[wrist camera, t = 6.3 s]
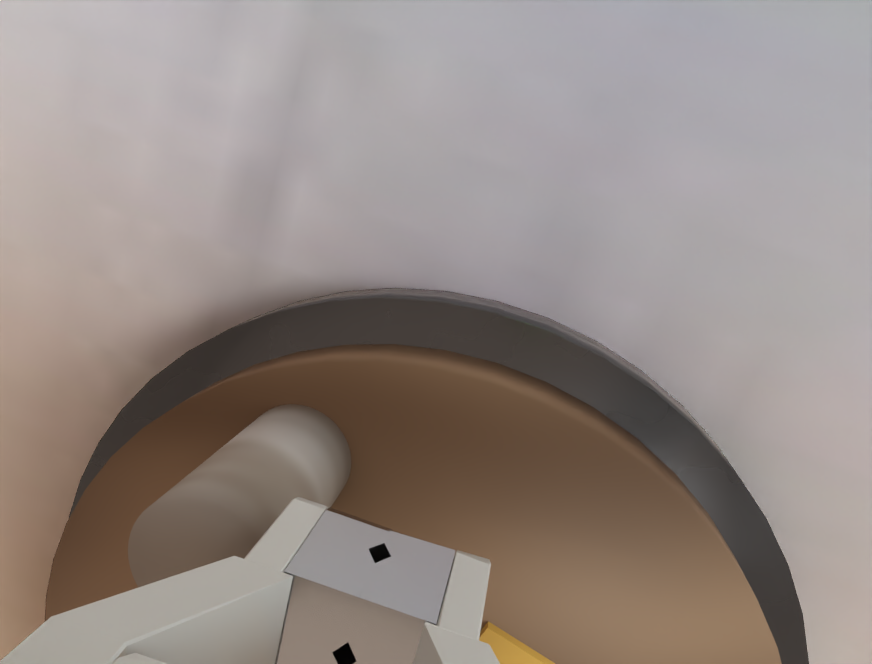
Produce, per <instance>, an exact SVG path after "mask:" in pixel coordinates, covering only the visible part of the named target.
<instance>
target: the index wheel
mask: <svg viewBox="0 0 872 664" xmlns="http://www.w3.org/2000/svg"><path fill="white" fill-rule="evenodd" d="M297 497H301V498H304V499H307V500H310V501H313V502H316V503H319V504H322V505H325V506H327V507H328V508H330V507H331V508H333V509H336V510H339V511H342V512H345V513H347V514H350V515H353V516H356V517H359V518H361V519H364V520H367V521H370V522H373V523H376V524H378V525H381V526H384V527H387V528H390V529H392V530H393V531H396V532H399V533H402V534H405V535H409V536H412V537H415V538H418V539H421V540H425V541H428V542H431V543H434V544H437V545H440V546H444V547H447V548H450V549H453V550H456V551H457V550H459V551H462V552H466V553H469V554H473V555H476V556H479V557H483V558H486V559H489V560H490V562H491V568H490V574H489V580H488V587H487V593H486V599H485V606H484V612H483V618H482V625H481V631H480V637H479V641H482V642H484V643H487V644H489V645H490V646H491V648H492V650H493V652H494V654H495V655H496V657H497V659H498V661H499V663H500V664H782V663H781V659H780V655H779V651H778V647H777V645H776V642H775V640H774V638H773V635H772V633H771V631H770V628H769V626H768V624H767V621H766V619H765V617H764V614H763V612H762V609H761V607H760V605H759V602H758V600H757V598H756V596H755V594H754V592H753V590H752V588H751V587H750V585H749V583H748V581H747V579H746V577H745V575H744V573H743V571H742V570H741V568H740V566H739V564H738V562H737V560H736V558H735V556H734V555H733V553H732V551H731V550H730V548H729V546H728V545H727V543H726V542H725V540H724V538H723V537H722V535H721V533H720V532H719V530H718V528H717V527H716V525H715V524H714V522H713V520H712V519H711V517H710V515H709V514H708V512H707V511H706V510H705V509H704V508H703V506H702V505H701V504H700V503H699V502H698V500H697V499H696V498H695V497H694V495H693V494H692V493H691V492H690V491H689V489H688V488H687V487H686V486H685V485H684V483H683V482H682V481H681V480H680V478H679V477H678V476H677V475H676V474H675V473H674V472H673V471H672V470H671V469H670V468H669V467H668V466H667V465H666V464H664V463H663V462H662V461H661V460H660V459H659V458H658V457H657V456H656V455H655V454H654V453H653V452H652V451H650V450H649V449H648V448H647V447H646V446H645V445H644V444H643V443H642V442H641V441H640V440H639V439H638V438H636V437H635V436H633V435H632V434H631V433H629V432H628V431H626V430H625V429H624V428H622V427H621V426H619V425H618V424H617V423H615V422H614V421H612V420H611V419H609V418H608V417H607V416H605V415H604V414H602V413H601V412H600V411H598V410H597V409H595V408H594V407H592V406H590V405H588V404H587V403H585V402H583V401H581V400H579V399H577V398H575V397H574V396H572V395H570V394H568V393H566V392H564V391H562V390H561V389H559V388H557V387H555V386H553V385H551V384H549V383H548V382H545V381H543V380H540V379H538V378H535V377H532V376H530V375H527V374H525V373H522V372H519V371H517V370H514V369H512V368H509V367H506V366H504V365H501V364H499V363H496V362H492V361H488V360H484V359H480V358H476V357H471V356H467V355H463V354H459V353H455V352H451V351H447V350H441V349H432V348H424V347H415V346H407V345H398V344H364V345H340V346H333V347H326V348H320V349H313V350H306V351H299V352H295V353H292V354H288V355H285V356H282V357H278V358H275V359H271V360H268V361H265V362H261V363H258V364H254V365H252V366H250V367H248V368H246V369H243V370H241V371H239V372H237V373H235V374H233V375H230V376H228V377H226V378H224V379H222V380H219V381H217V382H215V383H213V384H212V385H210V386H208V387H207V388H205V389H203V390H202V391H200V392H198V393H197V394H195V395H193V396H192V397H190V398H188V399H187V400H185V401H183V402H182V403H180V404H178V405H177V406H175V407H174V408H172V409H171V410H169V411H168V412H166V413H165V414H163V415H162V416H160V417H159V418H157V419H156V420H154V421H153V422H151V423H150V424H148V425H146V426H145V427H143V428H142V429H141V430H140V431H139V432H138V433H137V434H136V435H134V436H133V437H132V438H131V439H130V440H129V441H128V442H127V443H126V444H125V445H123V446H122V447H121V448H120V449H119V450H118V451H117V452H116V453H115V454H114V455H112V456H111V458H110V459H109V460H108V461H107V463H106V464H105V465H104V466H103V468H102V469H101V470H100V471H99V473H98V474H97V475H96V476H95V478H94V479H93V480H92V482H91V483H90V484H89V485H88V487H87V488H86V489H85V491H84V493H83V495H82V496H81V498H80V500H79V502H78V504H77V505H76V507H75V509H74V511H73V513H72V514H71V516H70V518H69V520H68V522H67V523H66V526H65V529H64V532H63V534H62V537H61V540H60V543H59V545H58V548H57V551H56V554H55V557H54V559H53V564H52V569H51V574H50V579H49V585H48V590H47V595H46V609H45V621H47V620H48V619H49V618H50V617H51V616H54V615H57V614H60V613H63V612H66V611H69V610H72V609H75V608H78V607H81V606H84V605H87V604H90V603H93V602H96V601H99V600H102V599H105V598H108V597H111V596H114V595H117V594H120V593H123V592H126V591H129V590H133V589H136V588H139V587H142V586H145V585H148V584H151V583H154V582H157V581H160V580H163V579H166V578H169V577H172V576H175V575H178V574H181V573H184V572H187V571H190V570H193V569H196V568H199V567H202V566H205V565H208V564H211V563H214V562H217V561H220V560H223V559H226V558H229V557H232V556H237V557H240V558H243V559H244V558H245V557H246V556H247V554H248V553H249V552H250V551H251V549H252V548H253V547H254V546H255V544H256V543H257V542H258V541H259V540H260V538H261V537H262V536H263V535H264V533H265V532H266V531H267V530H268V528H269V527H270V526H271V525H272V524H273V522H274V521H275V520H276V519H277V517H278V516H279V515H280V514H281V512H282V511H283V510H284V509H285V508H286V506H287V505H288V504H289V503H290V501H291V500H293V499H294V498H297ZM456 551H455V553H456Z"/></svg>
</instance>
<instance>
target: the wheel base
mask: <svg viewBox="0 0 872 664" xmlns="http://www.w3.org/2000/svg"><path fill="white" fill-rule="evenodd" d="M364 344H398V345H407V346H415V347H424V348H432V349H441V350H447V351H451V352H455V353H459V354H463V355H467V356H471V357H476V358H480V359H484V360H488V361H492V362H496V363H499V364H501V365H504V366H506V367H509V368H512V369H514V370H517V371H519V372H522V373H525V374H527V375H530V376H532V377H535V378H538V379H540V380H543V381H545V382H548V383H549V384H551V385H553V386H555V387H557V388H559V389H561V390H562V391H564V392H566V393H568V394H570V395H572V396H574V397H575V398H577V399H579V400H581V401H583V402H585V403H587V404H588V405H590V406H592V407H594V408H595V409H597V410H598V411H600V412H601V413H602V414H604V415H605V416H607V417H608V418H609V419H611V420H612V421H614V422H615V423H617V424H618V425H619V426H621V427H622V428H624V429H625V430H626V431H628V432H629V433H631V434H632V435H633V436H635V437H636V438H638V439H639V440H640V441H641V442H642V443H643V444H644V445H645V446H646V447H647V448H648V449H649V450H650V451H652V452H653V453H654V454H655V455H656V456H657V457H658V458H659V459H660V460H661V461H662V462H663V463H664V464H666V465H667V466H668V467H669V468H670V469H671V470H672V471H673V472H674V473H675V474H676V475H677V476H678V477H679V478H680V480H681V481H682V482H683V483H684V485H685V486H686V487H687V488H688V489H689V491H690V492H691V493H692V494H693V495H694V497H695V498H696V499H697V500H698V502H699V503H700V504H701V505H702V506H703V508H704V509H705V510H706V511H707V512H708V514H709V515H710V517H711V519H712V520H713V522H714V524H715V525H716V527H717V528H718V530H719V532H720V533H721V535H722V537H723V538H724V540H725V542H726V543H727V545H728V546H729V548H730V550H731V551H732V553H733V555H734V556H735V558H736V560H737V562H738V564H739V566H740V568H741V570H742V571H743V573H744V575H745V577H746V579H747V581H748V583H749V585H750V587H751V588H752V590H753V592H754V594H755V596H756V598H757V600H758V602H759V605H760V607H761V609H762V612H763V614H764V617H765V619H766V621H767V624H768V626H769V628H770V631H771V633H772V635H773V638H774V640H775V642H776V645H777V647H778V651H779V655H780V659H781V663H782V664H809V661H808V653H807V645H806V637H805V629H804V621H803V614H802V610H801V607H800V604H799V600H798V597H797V593H796V590H795V586H794V583H793V580H792V576H791V573H790V569H789V566H788V564H787V562H786V559H785V557H784V555H783V553H782V551H781V549H780V547H779V545H778V542H777V540H776V538H775V536H774V534H773V532H772V530H771V527H770V525H769V523H768V521H767V519H766V517H765V516H764V514H763V513H762V511H761V510H760V508H759V506H758V505H757V503H756V502H755V500H754V499H753V497H752V496H751V494H750V493H749V491H748V490H747V488H746V487H745V485H744V484H743V482H742V481H741V479H740V478H739V476H738V475H737V473H736V472H735V470H734V469H733V467H732V466H731V465H730V463H729V462H728V460H727V459H726V457H725V456H724V454H723V453H722V451H721V450H720V449H719V447H718V446H717V444H716V443H715V442H714V441H713V440H712V439H711V437H710V436H709V435H708V434H707V433H706V432H705V431H704V430H703V428H702V427H701V426H700V425H699V424H698V423H697V422H696V421H695V419H694V418H693V417H692V416H691V415H690V414H689V413H688V412H687V410H686V409H685V408H684V407H683V406H682V405H681V404H680V403H679V402H678V401H676V400H675V399H674V398H673V397H672V396H671V395H669V394H668V393H667V392H666V391H665V390H664V389H662V388H661V387H660V386H659V385H658V384H657V383H655V382H654V381H653V380H652V379H651V378H650V377H648V376H647V375H646V374H645V373H644V372H643V371H641V370H640V369H638V368H637V367H635V366H634V365H632V364H631V363H629V362H628V361H626V360H625V359H623V358H621V357H620V356H618V355H617V354H615V353H614V352H612V351H611V350H609V349H608V348H606V347H605V346H603V345H602V344H600V343H598V342H597V341H595V340H593V339H591V338H589V337H587V336H585V335H582V334H580V333H578V332H576V331H574V330H572V329H570V328H568V327H566V326H564V325H562V324H560V323H558V322H556V321H553V320H551V319H549V318H547V317H544V316H541V315H538V314H535V313H532V312H529V311H526V310H523V309H520V308H517V307H514V306H511V305H508V304H505V303H502V302H499V301H494V300H489V299H484V298H479V297H474V296H469V295H463V294H458V293H453V292H448V291H436V290H420V289H404V288H387V289H373V290H359V291H345V292H341V293H336V294H331V295H326V296H322V297H317V298H312V299H307V300H303V301H298V302H296V303H293V304H290V305H287V306H285V307H282V308H279V309H276V310H274V311H271V312H268V313H265V314H263V315H260V316H257V317H255V318H253V319H250V320H248V321H246V322H244V323H242V324H239V325H237V326H235V327H233V328H231V329H229V330H227V331H225V332H223V333H221V334H219V335H217V336H216V337H214V338H212V339H210V340H208V341H206V342H204V343H203V344H201V345H199V346H197V347H195V348H193V349H191V350H190V351H188V352H186V353H185V354H184V355H182V356H181V357H180V358H178V359H177V360H176V361H174V362H173V363H172V364H171V365H169V366H168V367H167V368H165V369H164V370H163V371H161V372H160V373H159V374H157V375H156V376H155V377H153V378H152V379H151V380H150V381H149V382H148V383H147V384H146V385H145V386H144V387H143V388H142V389H141V390H140V391H139V392H138V393H137V394H136V396H135V397H134V398H133V399H132V400H131V401H130V402H129V403H128V404H127V405H126V406H125V407H124V408H123V409H122V410H121V412H120V413H119V415H118V416H117V417H116V419H115V420H114V422H113V423H112V425H111V426H110V427H109V429H108V430H107V432H106V433H105V435H104V436H103V437H102V439H101V440H100V442H99V443H98V445H97V447H96V449H95V451H94V453H93V455H92V457H91V459H90V461H89V463H88V465H87V468H86V470H85V472H84V474H83V476H82V478H81V480H80V483H79V486H78V490H77V493H76V496H75V499H74V503H73V506H72V509H71V512H70V516H71V514H72V513H73V511H74V509H75V507H76V505H77V504H78V502H79V500H80V498H81V496H82V495H83V493H84V491H85V489H86V488H87V487H88V485H89V484H90V483H91V482H92V480H93V479H94V478H95V476H96V475H97V474H98V473H99V471H100V470H101V469H102V468H103V466H104V465H105V464H106V463H107V461H108V460H109V459H110V458H111V456H112V455H114V454H115V453H116V452H117V451H118V450H119V449H120V448H121V447H122V446H123V445H125V444H126V443H127V442H128V441H129V440H130V439H131V438H132V437H133V436H134V435H136V434H137V433H138V432H139V431H140V430H141V429H142V428H143V427H145V426H146V425H148V424H150V423H151V422H153V421H154V420H156V419H157V418H159V417H160V416H162V415H163V414H165V413H166V412H168V411H169V410H171V409H172V408H174V407H175V406H177V405H178V404H180V403H182V402H183V401H185V400H187V399H188V398H190V397H192V396H193V395H195V394H197V393H198V392H200V391H202V390H203V389H205V388H207V387H208V386H210V385H212V384H213V383H215V382H217V381H219V380H222V379H224V378H226V377H228V376H230V375H233V374H235V373H237V372H239V371H241V370H243V369H246V368H248V367H250V366H252V365H254V364H258V363H261V362H265V361H268V360H271V359H275V358H278V357H282V356H285V355H288V354H292V353H295V352H299V351H306V350H313V349H320V348H326V347H333V346H340V345H364ZM70 516H69V518H70Z"/></svg>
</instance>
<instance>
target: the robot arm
mask: <svg viewBox="0 0 872 664" xmlns="http://www.w3.org/2000/svg"><path fill="white" fill-rule="evenodd" d="M455 551H456V550H453V549H450V548H447V547H444V546H440V545H437V544H434V543H431V542H428V541H425V540H421V539H418V538H415V537H412V536H409V535H405V534H402V533H399V532H396V531H393V530H392V529H390V528H387V527H384V526H381V525H378V524H376V523H373V522H370V521H367V520H364V519H361V518H359V517H356V516H353V515H350V514H347V513H345V512H342V511H339V510H336V509H333V508H331V507H330V508H328V507H327V506H325V505H322V504H319V503H316V502H313V501H310V500H307V499H304V498H301V497H297V498H294V499H293V500H291V501H290V503H289V504H288V505H287V506H286V508H285V509H284V510H283V511H282V512H281V514H280V515H279V516H278V517H277V519H276V520H275V521H274V522H273V524H272V525H271V526H270V527H269V528H268V530H267V531H266V532H265V533H264V535H263V536H262V537H261V538H260V540H259V541H258V542H257V543H256V544H255V546H254V547H253V548H252V549H251V551H250V552H249V553H248V554H247V556H246V557H245V558H244V559H243V558H240V557H237V556H232V557H229V558H226V559H223V560H220V561H217V562H214V563H211V564H208V565H205V566H202V567H199V568H196V569H193V570H190V571H187V572H184V573H181V574H178V575H175V576H172V577H169V578H166V579H163V580H160V581H157V582H154V583H151V584H148V585H145V586H142V587H139V588H136V589H133V590H129V591H126V592H123V593H120V594H117V595H114V596H111V597H108V598H105V599H102V600H99V601H96V602H93V603H90V604H87V605H84V606H81V607H78V608H75V609H72V610H69V611H66V612H63V613H60V614H57V615H54V616H51V617H50V618H49V619H48V620H47V621H45V622H44V623H43V624H42V625H41V626H40V627H39V628H37V629H36V630H35V631H34V632H33V633H32V634H30V635H29V636H28V637H27V638H26V639H25V640H24V641H22V642H21V643H20V644H19V645H18V646H17V647H16V648H14V649H13V650H12V651H11V652H10V653H9V654H8V655H6V656H5V657H4V658H3V659H2V660H1V661H0V664H500V663H499V661H498V659H497V657H496V655H495V654H494V652H493V650H492V648H491V646H490V645H489V644H487V643H484V642H482V641H479V637H480V631H481V625H482V618H483V612H484V606H485V599H486V593H487V587H488V580H489V574H490V568H491V562H490V560H489V559H486V558H483V557H479V556H476V555H473V554H469V553H466V552H462V551H459V550H457V551H456V553H455Z"/></svg>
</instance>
